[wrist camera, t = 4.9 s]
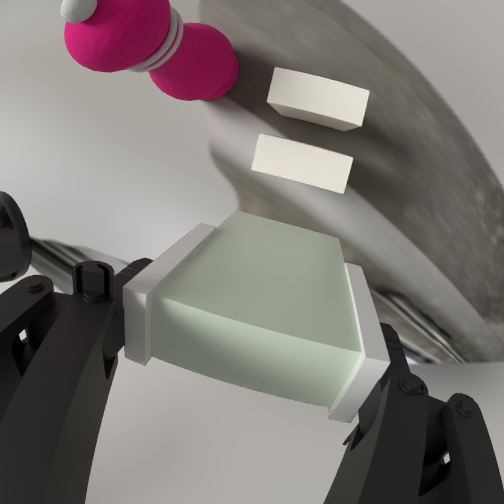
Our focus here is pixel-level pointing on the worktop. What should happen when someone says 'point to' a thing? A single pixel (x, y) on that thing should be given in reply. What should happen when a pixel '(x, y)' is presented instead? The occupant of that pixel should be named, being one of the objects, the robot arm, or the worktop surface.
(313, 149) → the tile
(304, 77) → the tile
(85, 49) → the pepper mill
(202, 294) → the tile
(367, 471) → the robot arm
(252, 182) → the worktop surface
